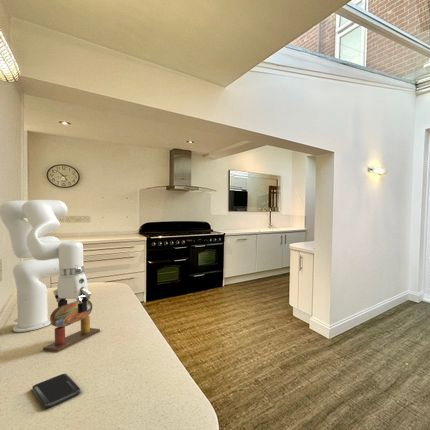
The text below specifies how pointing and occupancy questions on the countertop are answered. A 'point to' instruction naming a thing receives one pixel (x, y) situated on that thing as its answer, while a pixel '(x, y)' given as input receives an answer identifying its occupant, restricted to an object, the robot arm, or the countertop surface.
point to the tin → (69, 314)
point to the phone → (55, 390)
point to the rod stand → (71, 336)
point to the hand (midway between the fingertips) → (72, 311)
